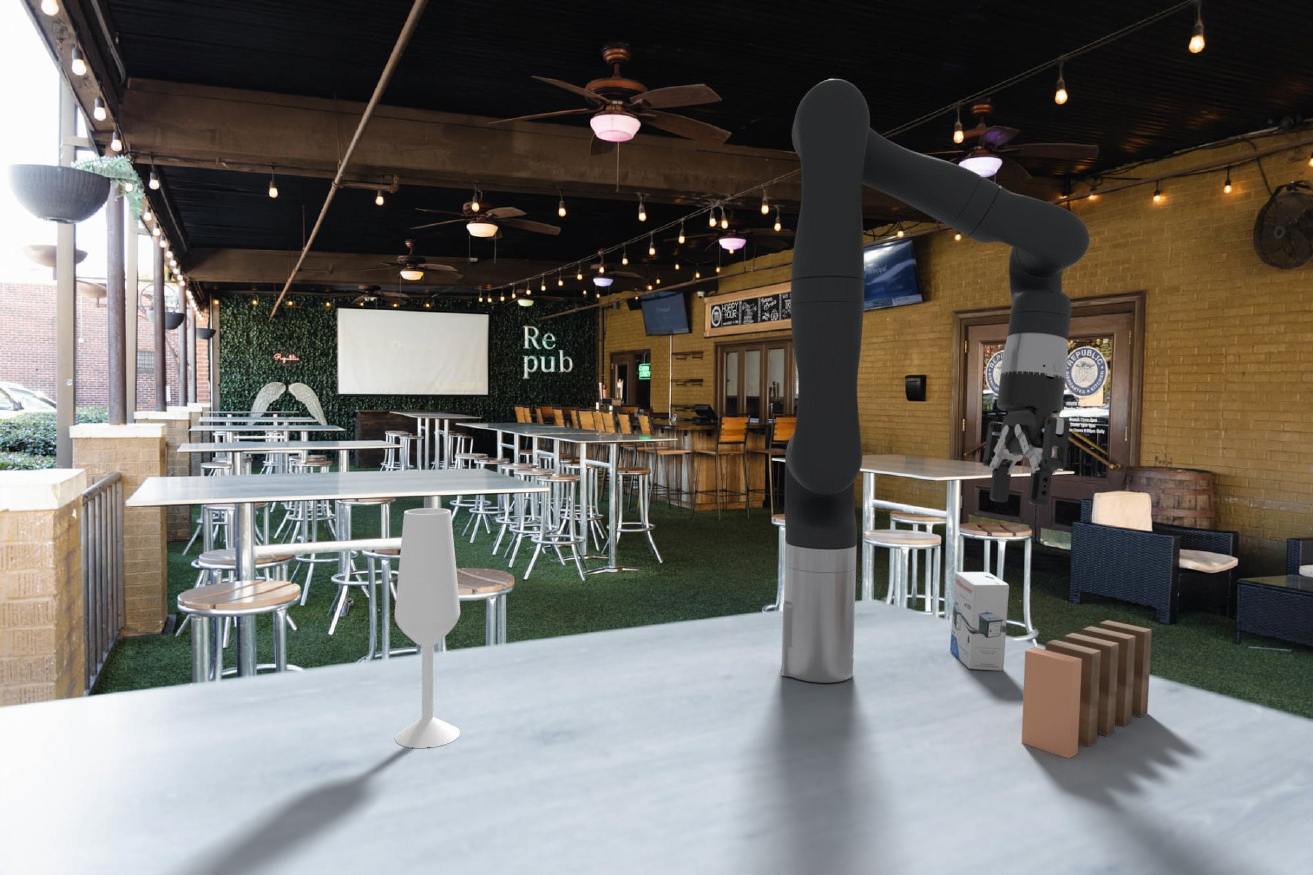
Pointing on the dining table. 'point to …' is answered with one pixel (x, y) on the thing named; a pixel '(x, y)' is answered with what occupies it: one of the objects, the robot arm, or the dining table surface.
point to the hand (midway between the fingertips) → (1017, 502)
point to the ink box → (979, 620)
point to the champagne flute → (427, 608)
